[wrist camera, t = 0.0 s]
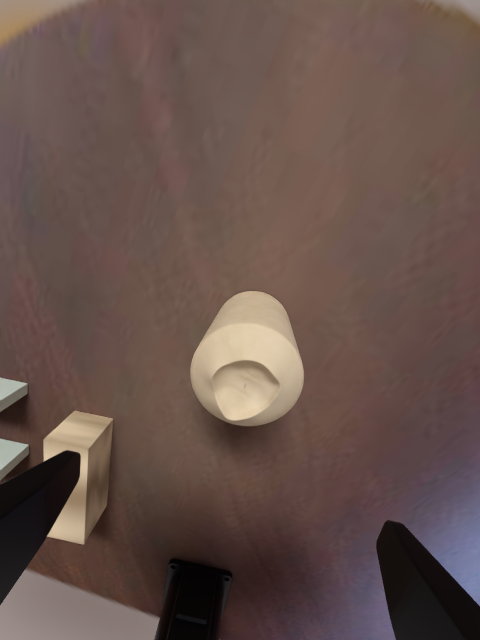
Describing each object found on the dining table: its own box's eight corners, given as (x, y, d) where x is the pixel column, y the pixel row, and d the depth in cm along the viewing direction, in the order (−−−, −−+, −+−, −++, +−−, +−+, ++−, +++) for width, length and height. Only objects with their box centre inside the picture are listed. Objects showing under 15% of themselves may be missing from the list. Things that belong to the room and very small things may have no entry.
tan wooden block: (107, 503, 29) (84, 544, 25) (73, 495, 29) (44, 535, 25) (114, 417, 26) (88, 449, 22) (76, 409, 26) (43, 439, 22)
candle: (262, 371, 23) (262, 466, 14) (203, 334, 23) (160, 406, 13) (303, 315, 22) (335, 378, 12) (241, 275, 21) (223, 308, 12)
